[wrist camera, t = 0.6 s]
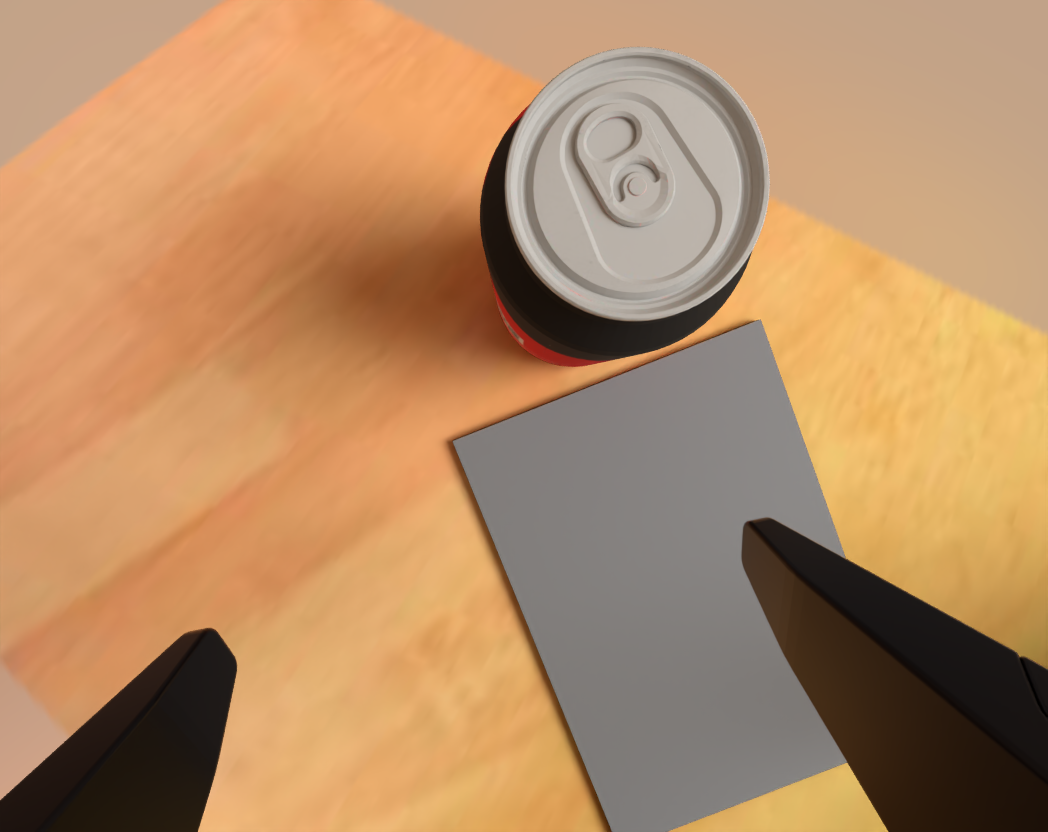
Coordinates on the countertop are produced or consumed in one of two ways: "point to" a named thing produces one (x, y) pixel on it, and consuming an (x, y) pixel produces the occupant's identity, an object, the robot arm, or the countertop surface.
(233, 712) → the countertop surface
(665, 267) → the beverage can
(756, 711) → the rubber mat
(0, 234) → the countertop surface
